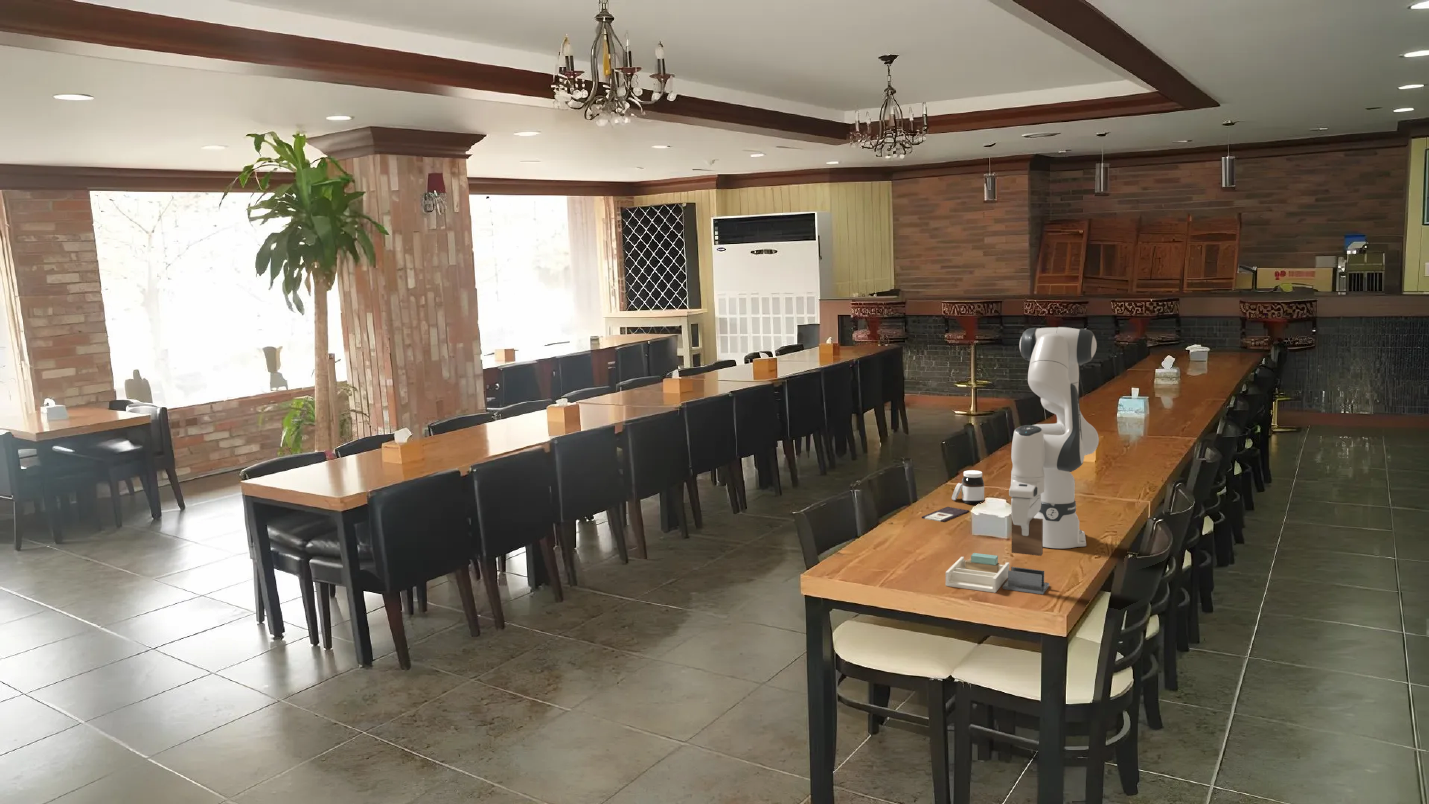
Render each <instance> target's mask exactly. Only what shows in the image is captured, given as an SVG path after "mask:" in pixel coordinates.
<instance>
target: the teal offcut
mask: <svg viewBox="0 0 1429 804" xmlns="http://www.w3.org/2000/svg"><path fill="white" fill-rule="evenodd" d="M970 559H971V562H973V563H980V564H988V565H996V564H997V563H999V555H995V554H987V553H986V554H984V553H976V552H973V553H972V554H971V555H970Z"/></svg>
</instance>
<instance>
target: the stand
mask: <svg viewBox="0 0 1429 804" xmlns="http://www.w3.org/2000/svg"><path fill="white" fill-rule="evenodd" d="M1049 587H1050V583H1049V582H1045V570H1039V569H1032V568H1026V567H1025V568H1024V567H1018V566H1010V569H1009V570H1008V578H1007V579H1006V580H1005V582H1004V583H1003V584H1002V590H1007V591H1009V590H1010V591H1015V592H1022V593H1028V594H1035V595H1036V594H1038V595H1045V593H1046V591H1047V589H1048V588H1049Z"/></svg>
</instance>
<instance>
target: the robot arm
mask: <svg viewBox="0 0 1429 804" xmlns="http://www.w3.org/2000/svg"><path fill="white" fill-rule="evenodd" d="M1097 344H1098V343H1097V339H1096V336H1095V334H1094V333H1093V331H1092V330H1089V329H1085V328H1082V327H1081V328H1075V327H1073V328H1072V327H1067V326H1058V327H1041V328H1040V327H1030V328H1028V329H1026V330H1024V331H1023V332H1022V334H1021V336H1020V340H1019V347H1018V348H1019V351H1020V355H1021V357H1022V358H1023V359H1024V360H1025V361H1028V362H1029V367H1028V372H1027V383H1028V386H1029V389H1030V390H1031V391H1032V392H1033V393H1034V394H1035V395H1037V396H1038V397H1039V398H1040V403H1041V406H1042V408H1043V409H1044V410H1047V411H1048V412H1050V413H1052V414H1054V415H1056V422H1055V423H1036V424H1032V425H1031V424H1025V425H1020V426H1018V427H1016V428H1015V429H1014V431H1013V436H1012V443H1011V451H1010V452H1011V455H1010V456H1011V462H1012V463H1011V464H1012V468H1011V472H1010V474H1011V475H1010V476H1011V477H1010V485H1009V489H1008V495H1009V497H1011V499H1010V500H1011V501H1010V504H1011V505H1010V507H1011V508H1010V509H1011V522H1012V521H1013V524H1014V525H1021V528H1022V535H1023V536H1028V535H1029V534H1030V529H1029V522H1030V521H1031V520H1032V518H1039V519H1043V548H1050V549H1071V548H1077V547H1078V548H1079V547H1081V548H1082V547H1083V548H1084V547H1087V541H1086V540H1087V539H1086V534H1085V533H1086V532H1085V531H1083V530H1082V529H1080V519H1079V517H1078V515H1077V513H1076V512H1077V501H1076V500H1075V499H1076V497H1075V494H1076V493H1075V492H1076V489H1075V486H1076V484H1075V483H1076V480H1075V477H1074V475H1073V472H1074V471H1076V470H1078V469H1079V468H1080V467H1081V466H1082V465H1083V464H1084V460H1085V456H1088V455H1091V454H1094V453H1095V451H1096V450H1097V448H1098V446H1099V441H1100V439H1099V433H1098V431H1097V429H1096V428H1095V427H1094V426H1093V425H1092V424H1091V423H1089V422H1088V421H1087V420H1086V419H1085V418H1084V415H1083V414H1082V412H1081V408H1080V407H1081V406H1080V396H1079V383H1080V381H1079V380H1080V366H1083V365H1084V364H1087V363H1089V362H1091V361H1092V360H1093V358H1094V356H1095V354H1096V351H1097V346H1098V345H1097Z"/></svg>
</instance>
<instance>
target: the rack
mask: <svg viewBox="0 0 1429 804" xmlns="http://www.w3.org/2000/svg"><path fill="white" fill-rule="evenodd" d="M966 561H967V560H965V556H960V557H959V559H958V560H956V561H955V563H953V564H952V565H951V566H950V567H949V568H948V569H947V570H946V571H945V587H951V588H952V587H953V588H959V589H967V590H972V591H981V592H985V593H986V592H987V593H994V594H995V593H997V591H998V590H999V589H1000V588H1001V587H1002V586H1003V585H1004V584H1005V583H1006V581H1007V580H1008V570H1009V571H1010V562H1007V561H1006V562H1005V564H999V572H998V573H991V572H984V571H976V570H969V569H966Z"/></svg>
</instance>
